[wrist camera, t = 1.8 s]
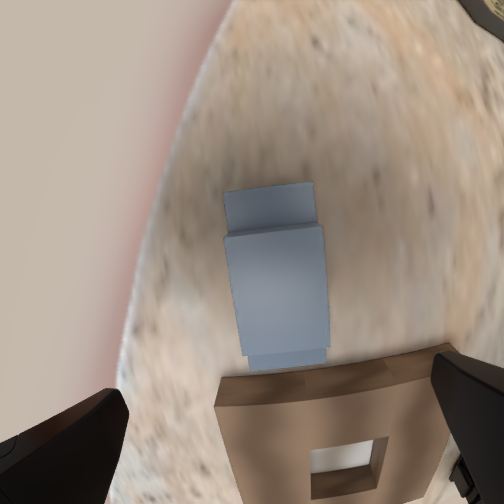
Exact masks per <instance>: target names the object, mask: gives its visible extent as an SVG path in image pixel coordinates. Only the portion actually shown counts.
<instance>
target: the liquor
mask: <svg viewBox="0 0 504 504" xmlns="http://www.w3.org/2000/svg"><path fill="white" fill-rule="evenodd" d="M459 1H460V2H461V4H462V5H463V6H464V7H465V9H466V10H467V11H468V13H469V14H470V15H471V17H472V18H473V20H474V21H475V22H476V23H477V24H478V25H480V26H482V27H483V28H485V29H486V30H488V31H489V32H491V33H492V34H494V35H495V36H497V37H498V38H500V39H501V40H502V41H504V0H459Z"/></svg>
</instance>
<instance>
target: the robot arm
mask: <svg viewBox="0 0 504 504" xmlns="http://www.w3.org/2000/svg"><path fill="white" fill-rule="evenodd" d="M430 380H431V385H432V387H433V390H434V392H435V395H436V397H437V400H438V402H439V405H440V408H441V410H442V413H443V416H444V418H445V421H446V423H447V426H448V428H449V430H450V432H451V434H452V436H453V438H454V440H455V442H456V444H457V446H458V448H459V450H460V452H461V456H460V458H459V460H458V462H457V465H456V467H455V469H454V471H453V473H452V475H451V477H450V481H451V482H452V481H454V483H455V485H456V487H457V489H458V491H459V493H460V495H461V497H462V498H464V497H466V499H467V501H468V504H504V368H501V367H498V366H495V365H492V364H489V363H486V362H483V361H480V360H477V359H474V358H471V357H468V356H465V355H462V354H459V353H456V352H453V351H451V350H444V351H441V352H437V353H436V354H435V355H434V358H433V364H432V370H431V377H430ZM128 419H129V410H128V408H127V405H126V403H125V401H124V399H123V396H122V394H121V392H120V391H119V390H118V389H115V388H105V389H103V390H101V391H100V392H98V393H96V394H94V395H92V396H90V397H89V398H87V399H85V400H83V401H81V402H79V403H78V404H76V405H74V406H72V407H70V408H68V409H66V410H65V411H63V412H61V413H59V414H57V415H55V416H53V417H51V418H49V419H48V420H45V421H44V422H42V423H40V424H38V425H36V426H34V427H32V428H30V429H28V430H26V431H24V432H22V433H20V434H19V435H16V436H14V437H12V438H10V439H8V440H6V441H4V442H1V443H0V504H104V503H105V500H106V497H107V494H108V491H109V488H110V485H111V482H112V479H113V476H114V473H115V470H116V467H117V464H118V461H119V458H120V454H121V450H122V445H123V441H124V436H125V432H126V428H127V423H128Z"/></svg>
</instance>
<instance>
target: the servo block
mask: <svg viewBox="0 0 504 504" xmlns="http://www.w3.org/2000/svg"><path fill="white" fill-rule="evenodd" d="M223 199H224V206H225V213H226V220H227V227H228V234H227V235H226V236H225V237H224V238H223V239H224V245H225V252H226V258H227V265H228V271H229V278H230V284H231V290H232V296H233V302H234V309H235V315H236V321H237V327H238V333H239V338H240V344H241V350H242V356H248V362H249V368H250V371H257V370H269V369H280V368H290V367H299V366H307V365H315V364H322V363H327V358H326V347H330V326H329V305H328V289H327V274H326V261H325V249H324V237H323V227H322V225H320V224H319V223H318V222H317V215H316V206H315V197H314V189H313V181H311V182H302V183H292V184H284V185H275V186H267V187H259V188H252V189H244V190H237V191H230V192H223Z"/></svg>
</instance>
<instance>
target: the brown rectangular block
mask: <svg viewBox="0 0 504 504" xmlns="http://www.w3.org/2000/svg"><path fill="white" fill-rule="evenodd" d="M444 350H451V351H453V352H456V353H459V352H458V351H457V350H456V349H455V348H454V347H453V346H452V345H451V344H450V343H447V344H443V345H439V346H435V347H431V348H427V349H423V350H419V351H415V352H411V353H406V354H402V355H397V356H392V357H387V358H382V359H377V360H372V361H366V362H361V363H355V364H349V365H343V366H336V367H329V368H322V369H315V370H307V371H298V372H289V373H280V374H269V375H256V376H242V377H223V378H221V382H220V385H219V389H218V393H217V397H216V400H215V404H214V409H215V413H216V417H217V420H218V424H219V427H220V431H221V434H222V438H223V441H224V445H225V448H226V451H227V455H228V458H229V461H230V464H231V467H232V471H233V474H234V477H235V480H236V483H237V486H238V489H239V492H240V495H241V498H242V501H243V504H403V503H406V502H410V501H413V500H416V499H419V498H422V497H424V495H425V493H426V491H427V489H428V486H429V484H430V482H431V480H432V478H433V476H434V473H435V471H436V469H437V467H438V464H439V462H440V460H441V457H442V455H443V452H444V450H445V447H446V444H447V442H448V439H449V436H450V433H451V432H450V430H449V428H448V426H447V423H446V421H445V418H444V416H443V413H442V410H441V408H440V405H439V402H438V400H437V397H436V395H435V392H434V390H433V387H432V385H431V380H430V377H431V370H432V364H433V358H434V355H435V354H436V353H437V352H441V351H444ZM459 354H460V353H459ZM372 444H373V445H372ZM371 450H372V451H371ZM370 455H371V457H370ZM369 461H370V462H369Z"/></svg>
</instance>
